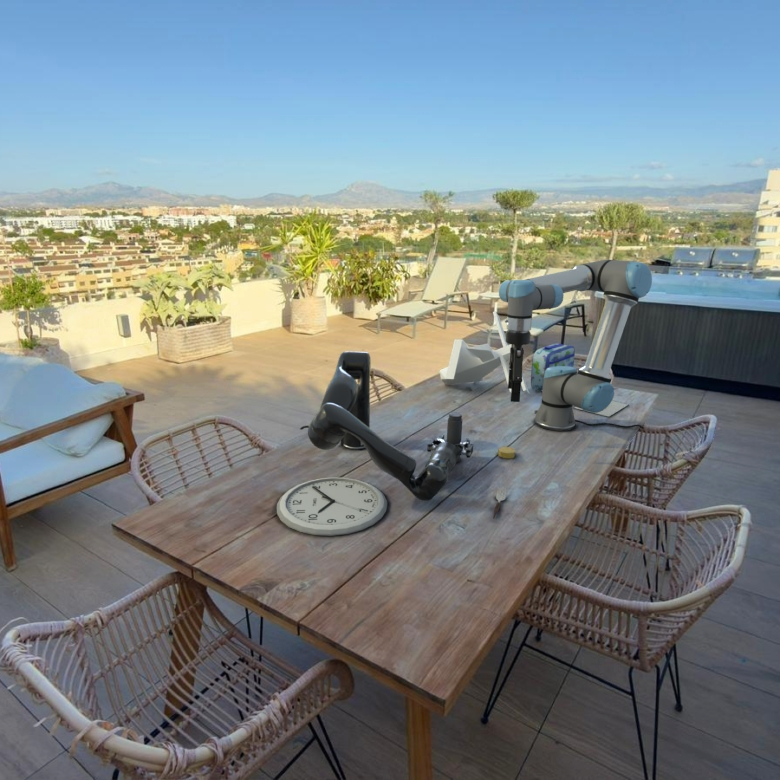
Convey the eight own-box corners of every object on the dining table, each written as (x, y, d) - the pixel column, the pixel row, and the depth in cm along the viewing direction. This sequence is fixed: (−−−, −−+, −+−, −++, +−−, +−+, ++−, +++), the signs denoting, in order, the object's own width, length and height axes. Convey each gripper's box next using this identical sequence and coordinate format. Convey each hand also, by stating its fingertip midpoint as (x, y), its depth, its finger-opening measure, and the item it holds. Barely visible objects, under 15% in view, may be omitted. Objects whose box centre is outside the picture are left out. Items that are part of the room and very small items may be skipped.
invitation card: (608, 416, 214) (573, 407, 224) (608, 416, 214) (573, 408, 224) (628, 404, 229) (594, 396, 238) (628, 405, 229) (594, 397, 238)
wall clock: (392, 527, 129) (268, 531, 127) (391, 533, 130) (269, 537, 127) (383, 473, 158) (282, 475, 155) (383, 478, 158) (282, 480, 156)
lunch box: (547, 395, 239) (552, 351, 233) (526, 390, 247) (530, 347, 240) (574, 384, 257) (579, 343, 251) (554, 380, 264) (558, 339, 258)
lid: (496, 456, 175) (496, 451, 175) (501, 450, 180) (501, 445, 179) (512, 459, 173) (512, 454, 172) (516, 454, 177) (517, 448, 177)
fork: (488, 519, 137) (488, 512, 136) (497, 492, 151) (498, 485, 151) (498, 521, 136) (498, 514, 135) (507, 493, 150) (507, 487, 150)
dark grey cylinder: (462, 461, 171) (465, 415, 166) (450, 464, 169) (453, 417, 164) (454, 455, 175) (457, 411, 170) (442, 458, 173) (445, 413, 168)
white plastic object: (461, 429, 252) (437, 405, 227) (444, 352, 274) (420, 323, 250) (535, 404, 240) (518, 377, 215) (510, 326, 262) (492, 293, 237)
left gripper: (420, 466, 161) (433, 446, 175) (466, 473, 156) (476, 452, 171) (421, 443, 158) (434, 425, 173) (467, 450, 154) (477, 431, 169)
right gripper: (504, 322, 176) (499, 383, 183) (508, 338, 153) (503, 406, 159) (526, 323, 175) (521, 384, 181) (535, 339, 151) (529, 408, 158)
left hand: (455, 439), depth 172 cm, fingers open, 7 cm apart
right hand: (513, 394), depth 170 cm, fingers open, 13 cm apart
